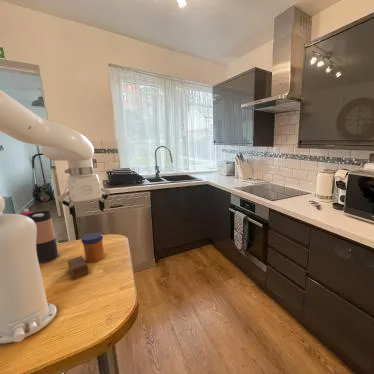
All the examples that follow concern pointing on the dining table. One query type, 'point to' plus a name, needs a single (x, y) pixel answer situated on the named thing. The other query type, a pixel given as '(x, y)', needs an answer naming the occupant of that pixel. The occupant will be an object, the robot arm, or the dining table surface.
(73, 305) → the dining table surface
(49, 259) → the travel mug
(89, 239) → the jar lid
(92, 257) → the jam jar
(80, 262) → the stand
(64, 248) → the dining table surface
